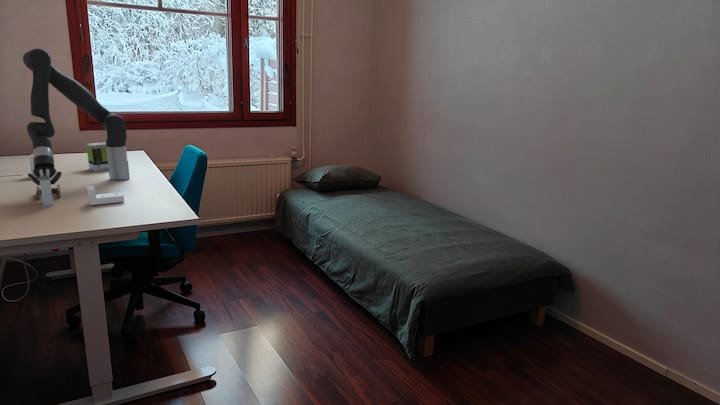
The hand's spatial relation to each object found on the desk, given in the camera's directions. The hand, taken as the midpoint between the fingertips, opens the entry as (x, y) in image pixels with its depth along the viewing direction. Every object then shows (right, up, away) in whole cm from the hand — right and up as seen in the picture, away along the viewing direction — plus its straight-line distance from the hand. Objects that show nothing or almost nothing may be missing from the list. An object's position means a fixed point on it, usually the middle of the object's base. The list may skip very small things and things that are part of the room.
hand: (46, 192), depth 208 cm
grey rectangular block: (+3, -5, -3) cm, 7 cm away
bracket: (+26, -5, 0) cm, 26 cm away
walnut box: (-4, -2, +8) cm, 9 cm away
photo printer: (-32, +9, +47) cm, 58 cm away
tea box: (-12, +15, +70) cm, 73 cm away
